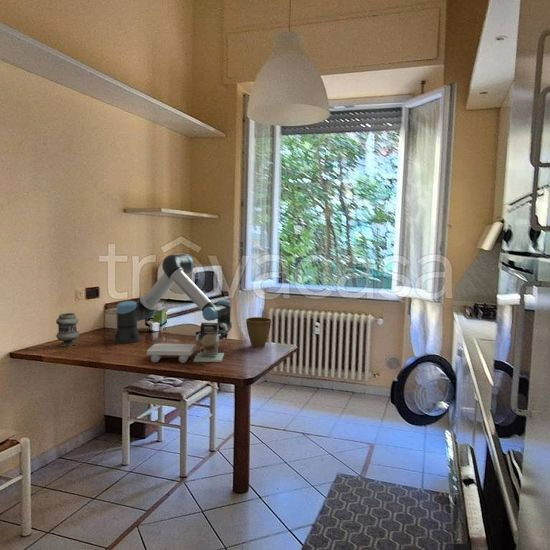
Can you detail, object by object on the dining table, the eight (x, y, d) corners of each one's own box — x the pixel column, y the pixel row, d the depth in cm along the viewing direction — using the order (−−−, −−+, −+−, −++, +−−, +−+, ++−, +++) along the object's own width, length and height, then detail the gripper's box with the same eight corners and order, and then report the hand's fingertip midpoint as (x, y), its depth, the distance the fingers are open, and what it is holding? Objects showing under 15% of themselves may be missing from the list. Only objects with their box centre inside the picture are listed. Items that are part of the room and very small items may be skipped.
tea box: (162, 331, 307) (162, 309, 305) (147, 331, 307) (147, 309, 306) (167, 327, 322) (167, 306, 320) (153, 327, 322) (153, 306, 321)
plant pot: (240, 346, 268) (240, 319, 267) (256, 342, 280) (256, 316, 279) (260, 350, 259) (260, 322, 258) (276, 346, 271) (276, 319, 270)
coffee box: (199, 355, 238) (199, 324, 237) (201, 352, 245) (201, 322, 243) (217, 355, 238) (217, 324, 237) (218, 352, 245) (218, 322, 244)
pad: (193, 361, 235) (193, 359, 235) (198, 354, 249) (198, 352, 249) (221, 361, 235) (221, 360, 235) (223, 354, 249) (223, 353, 249)
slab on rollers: (146, 362, 232) (146, 350, 231) (154, 354, 247) (154, 343, 247) (190, 363, 232) (190, 351, 231) (195, 355, 248) (195, 344, 247)
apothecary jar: (52, 346, 261) (51, 315, 259) (64, 342, 273) (63, 312, 271) (72, 347, 259) (71, 316, 258) (83, 343, 271) (82, 312, 270)
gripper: (238, 337, 257) (227, 346, 235) (199, 335, 261) (185, 344, 239) (238, 324, 256) (227, 332, 234) (199, 322, 260) (185, 330, 238)
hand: (206, 338), depth 237 cm, fingers closed on coffee box, 10 cm apart
